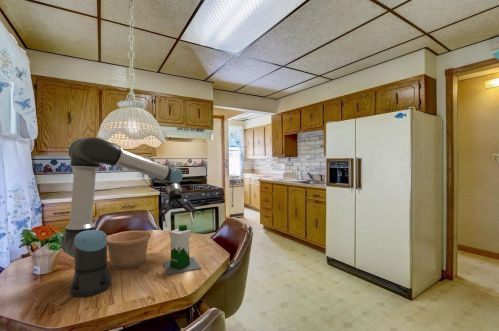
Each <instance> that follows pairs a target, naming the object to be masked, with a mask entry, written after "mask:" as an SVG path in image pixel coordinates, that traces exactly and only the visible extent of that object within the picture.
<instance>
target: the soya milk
mask: <svg viewBox="0 0 499 331" xmlns="http://www.w3.org/2000/svg"><path fill="white" fill-rule="evenodd" d="M191 232H192V231H191V229H189V228H188V226H187V225H186V224H181V225H178V228H176V229H173V230H170V231H169V232H168V234H169V238H170V261H171V262H170V267H173V268H176V269H182V268H184V267H186V266H188V265H190V258H191V257H190V237H191Z"/></svg>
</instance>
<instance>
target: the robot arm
mask: <svg viewBox="0 0 499 331" xmlns="http://www.w3.org/2000/svg"><path fill="white" fill-rule="evenodd" d="M67 152H68V153H67V154H68V156H69V158H70V166H69V167H71V169H73V177H72V178H73V179H72V191H71V192H72V193H71V205H70V215H69V223H68V224H67V225H66V226H65V228H64V234H63V235H62V236H61V238H60V247H61V249H62V251H63V252H64V253H65V254H67V255H69V256H70V257H72V258H73V259H74V274H73V277H72V280H71V283H70V285H69V295H70V296H72V297H76V298H84V297H91V296H94V295H98V294H100V293H103V292H104V291H107V290H108V289H109V288H110V287H111V286H112V282H113V281H112V276H111V273H110V271H109V268H108V255H107V254H108V245H107V234H106V232H105V231H103V230H99V229H97V230H96V225H95V224H94V222H93V213H94V202H95V201H94V199H95V188H96V176H97V171H98V170H99V169H101V164H102V165H107V166H111V167H115V166H118V167H121V168H124V169H128V170H131V171H133V172H137V173H139V174H143V175H146V176H148V178H149V179H150V180H152V181H156V182H159V183H160V184H163V185H166V189H167V194H168V200H167V198H166V199H165V198H164V199H163V202H162V205H161V207H160V209H159V211H158V216H159V217H161V218H162V222H164V225H165V226H164V227H165V228H168V218H167V217H168V216H167V214H168V212H169V211H170V210H171V209H173V208H182V209H184V210H185V211H186V212H188V214H189V218H190V219H189V220H190V224H191V226H192V225H194V219H195V214H196V212H197V208H196V207H195V206H194V205H193V204H192V202H190V199H189V198H188V197H186V198H183V192H182V189H181V183H180V182H181V181H182V180H183V177H184V175H183V171H182V170H181V169H178V168H172V167H169V166H167V165H164V164H161V163H159V162H155V161H153V160H151V159H148V158H146V157H144V156H143V157H142V156H140V155H137V154H135V153H132V152H130V151H127V150H124V149H123V148H122V146H120V145H118V144H115V143H113V142H110V141H108V140H105V139H103V138H101V137H95V136H94V137H93V136H92V137H83V138H78V139H76V140H75V141H73V142H71V144H70V145H69V147H68V150H67ZM167 204H169V205H168V206H167V207H166V205H167ZM165 207H166V208H165Z"/></svg>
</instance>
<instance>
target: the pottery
mask: <svg viewBox="0 0 499 331" xmlns="http://www.w3.org/2000/svg"><path fill="white" fill-rule="evenodd" d="M106 237H107V252H108V255H109V256H108V257H109V262H110V267H111V269H114V270H129V269H133V268H137V267H139V266H141V265H143V264H144V263H145V262H146V260H147V259H146V257H147V250H148V243H149V240H150V239H151V233H150V231H146V230H127V231H120V232H117V233H112V234H110V235H108V236H107V235H106Z"/></svg>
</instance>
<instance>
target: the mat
mask: <svg viewBox="0 0 499 331" xmlns="http://www.w3.org/2000/svg"><path fill="white" fill-rule="evenodd" d="M170 262H171V260H168V261H164V262H162V264H163V267H164V268H165V271H166V274H167V276H170V275H176V274H181V273H186V272H187V273H188V272H192V271H196V270H197V271H198V270H201V269H202V267H201V266H200V265H199V263H198V261H197V260H196V259H195V257H194V256H192V257H190V265H188V266H186V267H184V268H182V269H176V268H173V267H170Z"/></svg>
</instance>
